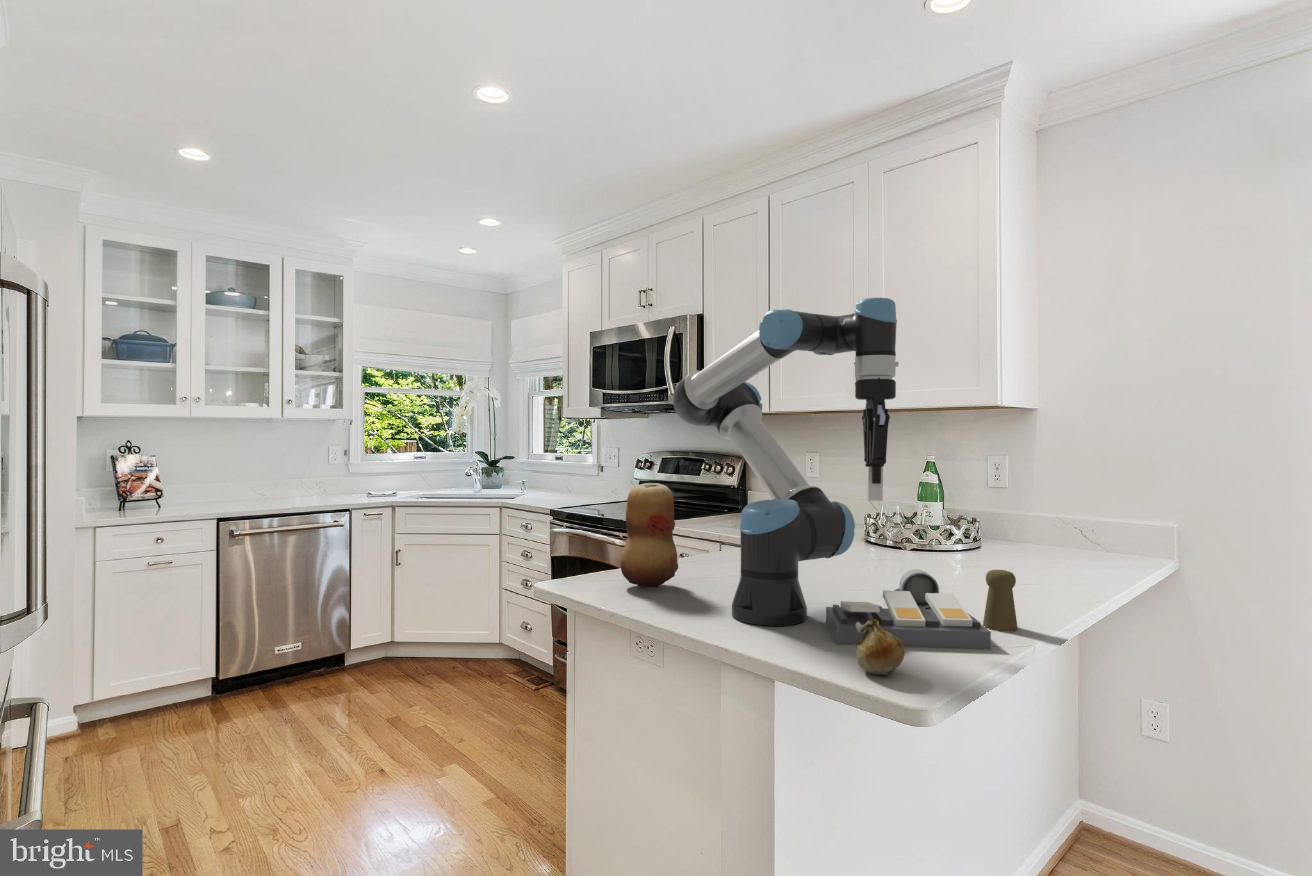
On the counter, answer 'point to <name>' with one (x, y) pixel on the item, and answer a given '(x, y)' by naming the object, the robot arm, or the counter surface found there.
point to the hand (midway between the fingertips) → (874, 500)
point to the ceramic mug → (918, 586)
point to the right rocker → (948, 609)
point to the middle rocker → (903, 608)
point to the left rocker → (859, 606)
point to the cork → (1000, 601)
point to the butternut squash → (649, 536)
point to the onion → (878, 649)
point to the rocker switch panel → (908, 629)
